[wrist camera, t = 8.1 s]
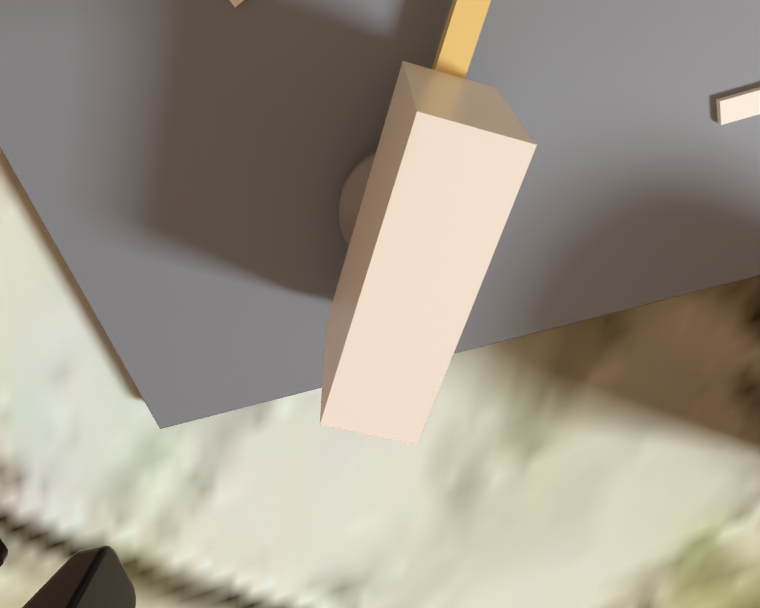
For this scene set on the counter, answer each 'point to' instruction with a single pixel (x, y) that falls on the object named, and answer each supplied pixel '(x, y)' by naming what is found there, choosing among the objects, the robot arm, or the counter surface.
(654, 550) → the counter surface
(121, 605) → the robot arm
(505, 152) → the peg knob
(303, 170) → the dial board
